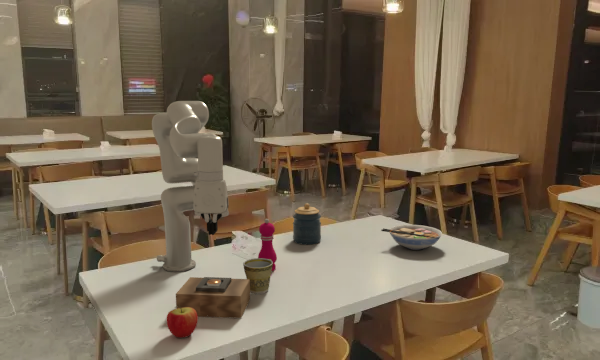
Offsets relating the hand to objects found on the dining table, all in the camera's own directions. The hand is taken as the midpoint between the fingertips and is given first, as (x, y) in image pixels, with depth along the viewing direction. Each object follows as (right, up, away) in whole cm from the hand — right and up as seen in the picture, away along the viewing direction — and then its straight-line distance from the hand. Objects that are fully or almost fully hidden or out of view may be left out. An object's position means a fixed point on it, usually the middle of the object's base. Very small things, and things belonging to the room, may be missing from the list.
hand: (212, 233), depth 156 cm
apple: (-5, -27, -17) cm, 32 cm away
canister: (+31, -11, +73) cm, 80 cm away
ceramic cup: (+14, -21, +16) cm, 30 cm away
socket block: (+1, -23, +1) cm, 23 cm away
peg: (+1, -23, +1) cm, 24 cm away
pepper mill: (+15, -18, +36) cm, 43 cm away
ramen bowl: (+78, -13, +62) cm, 101 cm away
